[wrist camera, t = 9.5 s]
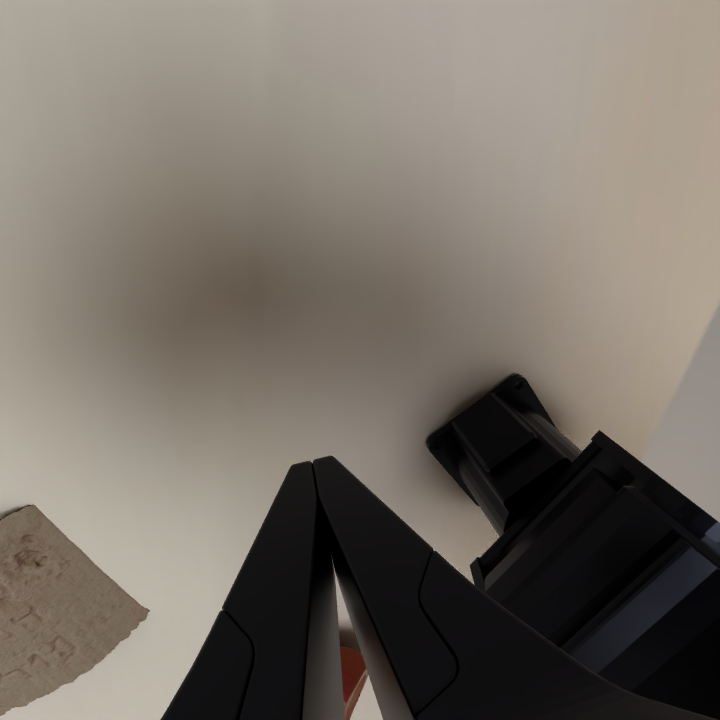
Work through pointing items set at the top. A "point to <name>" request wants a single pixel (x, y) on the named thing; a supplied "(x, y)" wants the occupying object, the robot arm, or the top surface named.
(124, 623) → the clay tablet
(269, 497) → the top surface
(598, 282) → the top surface
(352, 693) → the fruit slice
